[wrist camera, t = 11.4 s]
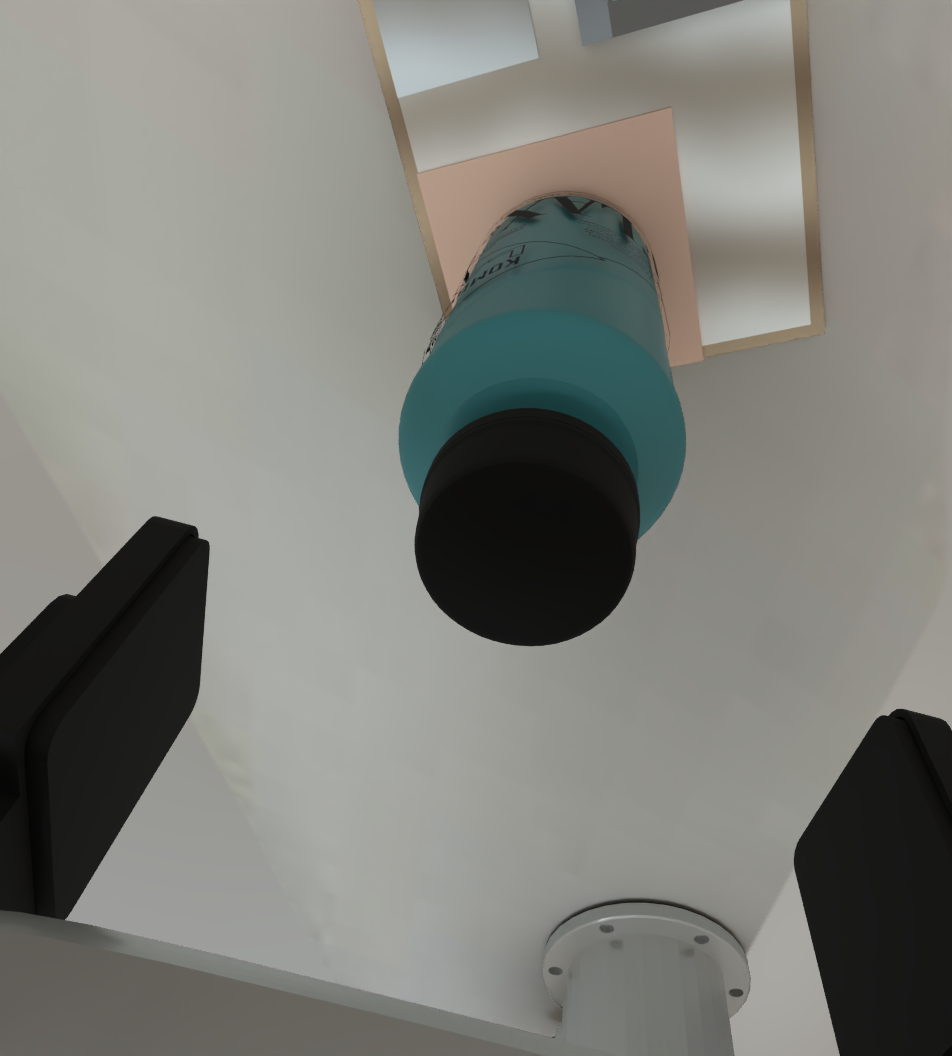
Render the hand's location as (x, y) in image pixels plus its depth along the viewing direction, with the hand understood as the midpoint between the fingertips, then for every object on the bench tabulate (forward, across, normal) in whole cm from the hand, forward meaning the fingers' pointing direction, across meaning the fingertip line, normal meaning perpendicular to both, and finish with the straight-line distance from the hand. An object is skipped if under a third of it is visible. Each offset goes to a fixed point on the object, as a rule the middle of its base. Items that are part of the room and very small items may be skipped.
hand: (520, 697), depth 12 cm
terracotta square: (+24, 0, 0) cm, 24 cm away
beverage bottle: (+23, 0, 0) cm, 23 cm away
